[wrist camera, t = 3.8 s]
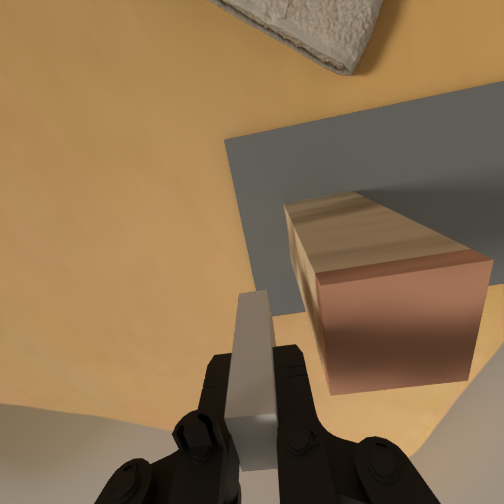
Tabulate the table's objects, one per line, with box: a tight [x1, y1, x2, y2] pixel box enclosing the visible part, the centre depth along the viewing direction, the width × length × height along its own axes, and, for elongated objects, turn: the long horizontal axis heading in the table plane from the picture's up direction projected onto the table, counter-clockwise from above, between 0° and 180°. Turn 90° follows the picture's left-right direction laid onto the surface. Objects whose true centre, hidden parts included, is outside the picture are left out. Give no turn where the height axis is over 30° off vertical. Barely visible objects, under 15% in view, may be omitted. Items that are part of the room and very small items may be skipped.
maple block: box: [284, 191, 494, 396], centre depth 16 cm, size 6×6×14 cm
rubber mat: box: [224, 81, 504, 316], centre depth 23 cm, size 18×25×1 cm
